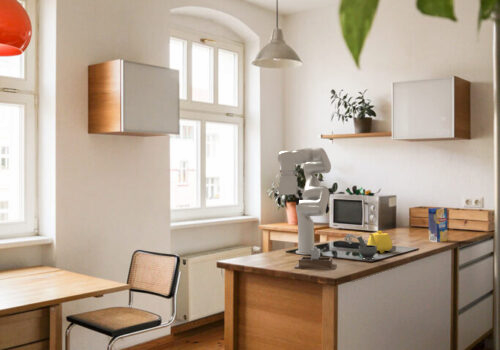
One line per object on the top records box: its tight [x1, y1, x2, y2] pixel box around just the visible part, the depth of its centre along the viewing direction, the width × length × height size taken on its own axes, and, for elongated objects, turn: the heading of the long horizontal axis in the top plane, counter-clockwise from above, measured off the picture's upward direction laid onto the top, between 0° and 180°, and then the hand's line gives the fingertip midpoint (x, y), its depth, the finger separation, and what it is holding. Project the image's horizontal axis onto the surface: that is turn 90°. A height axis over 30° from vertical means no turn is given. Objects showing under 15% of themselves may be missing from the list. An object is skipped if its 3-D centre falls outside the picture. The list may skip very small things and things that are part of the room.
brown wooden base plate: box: [294, 256, 337, 270], centre depth 263 cm, size 12×20×4 cm, turn 77°
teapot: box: [366, 230, 393, 254], centre depth 306 cm, size 13×20×12 cm
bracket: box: [344, 233, 368, 245], centre depth 338 cm, size 3×21×10 cm, turn 49°
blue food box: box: [427, 207, 448, 243], centre depth 348 cm, size 7×11×22 cm, turn 124°
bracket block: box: [310, 245, 321, 260], centre depth 263 cm, size 6×4×9 cm, turn 167°
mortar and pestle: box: [356, 236, 378, 259], centre depth 284 cm, size 11×9×12 cm
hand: (288, 205), depth 282 cm, fingers open, 9 cm apart
